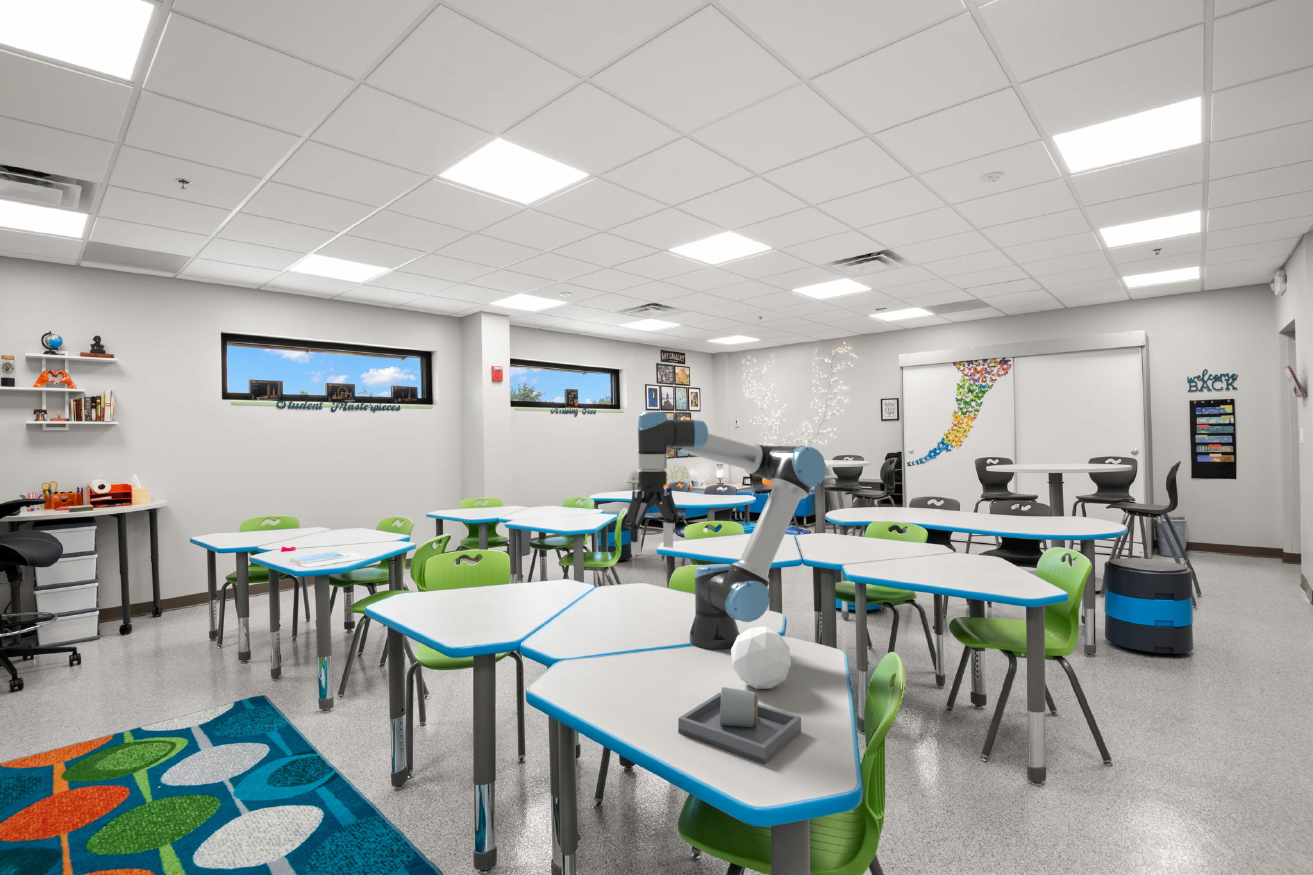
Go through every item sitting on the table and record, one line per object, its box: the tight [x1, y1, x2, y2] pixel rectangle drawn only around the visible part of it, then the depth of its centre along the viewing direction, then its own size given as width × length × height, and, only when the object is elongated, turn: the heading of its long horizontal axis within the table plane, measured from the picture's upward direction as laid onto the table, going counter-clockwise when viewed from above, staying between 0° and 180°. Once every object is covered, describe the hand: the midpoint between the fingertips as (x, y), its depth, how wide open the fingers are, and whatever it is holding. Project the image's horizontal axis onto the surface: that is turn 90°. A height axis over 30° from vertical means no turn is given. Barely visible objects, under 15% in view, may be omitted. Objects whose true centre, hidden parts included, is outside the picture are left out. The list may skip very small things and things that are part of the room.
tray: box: [677, 692, 802, 765], centre depth 125 cm, size 16×20×3 cm
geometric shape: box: [730, 626, 792, 690], centre depth 149 cm, size 14×15×15 cm
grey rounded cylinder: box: [720, 686, 759, 727], centre depth 128 cm, size 10×8×7 cm
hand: (652, 550), depth 159 cm, fingers open, 13 cm apart
